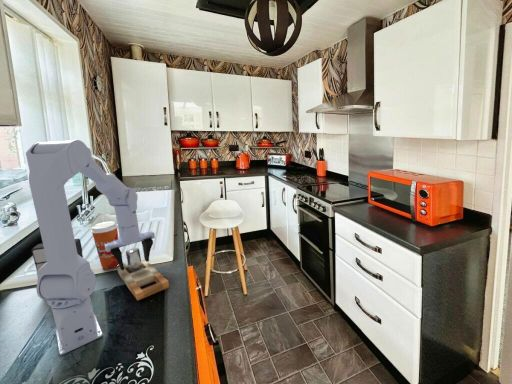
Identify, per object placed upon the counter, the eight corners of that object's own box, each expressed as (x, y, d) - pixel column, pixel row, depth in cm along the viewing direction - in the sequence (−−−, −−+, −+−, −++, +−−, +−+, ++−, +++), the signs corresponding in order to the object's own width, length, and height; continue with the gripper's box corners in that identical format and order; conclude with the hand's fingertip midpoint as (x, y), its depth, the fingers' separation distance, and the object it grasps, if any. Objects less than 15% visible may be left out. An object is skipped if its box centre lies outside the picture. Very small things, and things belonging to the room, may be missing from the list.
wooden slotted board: (169, 287, 79) (168, 281, 78) (137, 300, 73) (136, 294, 73) (146, 264, 94) (145, 259, 93) (118, 274, 88) (117, 268, 88)
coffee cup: (94, 272, 90) (85, 230, 87) (103, 261, 98) (95, 222, 95) (120, 268, 91) (112, 227, 88) (127, 258, 99) (121, 219, 96)
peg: (144, 273, 88) (140, 250, 86) (131, 278, 85) (127, 254, 83) (140, 269, 91) (137, 247, 89) (128, 273, 88) (124, 250, 86)
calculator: (42, 298, 77) (29, 250, 73) (49, 290, 81) (37, 244, 77) (85, 290, 79) (74, 243, 76) (89, 283, 84) (79, 238, 80)
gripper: (147, 216, 92) (152, 253, 95) (99, 228, 83) (107, 268, 86) (154, 221, 86) (160, 260, 89) (104, 234, 77) (112, 276, 80)
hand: (135, 264), depth 87 cm, fingers open, 7 cm apart
